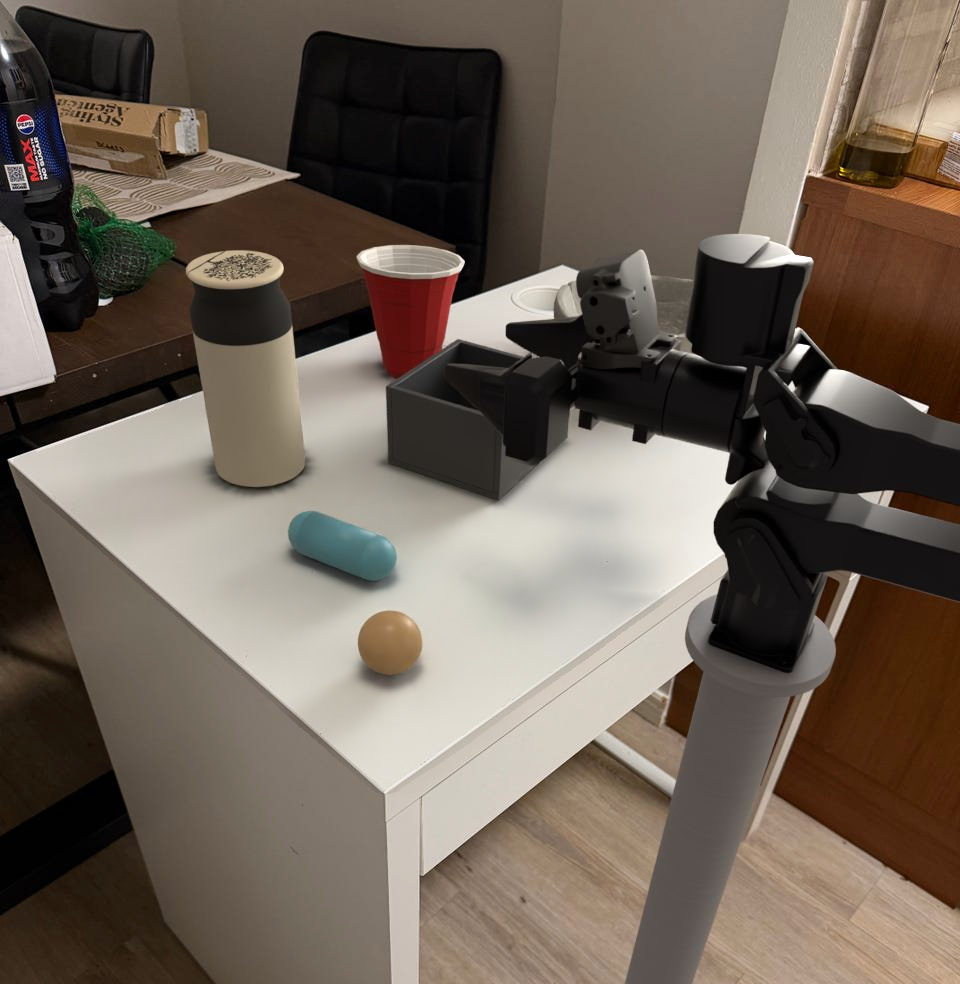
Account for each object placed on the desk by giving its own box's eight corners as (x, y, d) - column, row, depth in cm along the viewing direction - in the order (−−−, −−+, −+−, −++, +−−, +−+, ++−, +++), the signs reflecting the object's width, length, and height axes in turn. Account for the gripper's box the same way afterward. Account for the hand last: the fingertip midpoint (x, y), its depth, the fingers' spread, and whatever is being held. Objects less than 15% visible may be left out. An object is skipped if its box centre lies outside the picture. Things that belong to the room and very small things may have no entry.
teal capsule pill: (406, 571, 75) (405, 533, 72) (380, 595, 72) (378, 557, 70) (308, 534, 78) (305, 497, 76) (280, 555, 76) (276, 518, 74)
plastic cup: (476, 356, 106) (479, 245, 98) (441, 398, 98) (442, 280, 90) (386, 340, 108) (382, 231, 100) (345, 379, 100) (337, 264, 92)
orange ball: (434, 659, 67) (434, 611, 64) (399, 696, 64) (398, 647, 61) (382, 638, 69) (380, 589, 66) (346, 673, 66) (342, 624, 63)
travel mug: (323, 459, 87) (306, 260, 76) (269, 499, 82) (242, 292, 70) (254, 437, 90) (227, 242, 78) (197, 474, 85) (160, 270, 73)
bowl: (519, 377, 102) (523, 303, 97) (592, 324, 113) (600, 256, 108) (674, 424, 95) (688, 347, 90) (735, 362, 107) (751, 291, 101)
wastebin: (560, 443, 91) (567, 368, 86) (498, 500, 83) (503, 421, 78) (456, 411, 96) (457, 338, 91) (388, 463, 87) (385, 386, 82)
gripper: (740, 237, 66) (538, 205, 72) (641, 321, 53) (405, 273, 59) (713, 388, 73) (531, 348, 79) (619, 495, 60) (411, 437, 66)
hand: (477, 349), depth 70 cm, fingers open, 9 cm apart
